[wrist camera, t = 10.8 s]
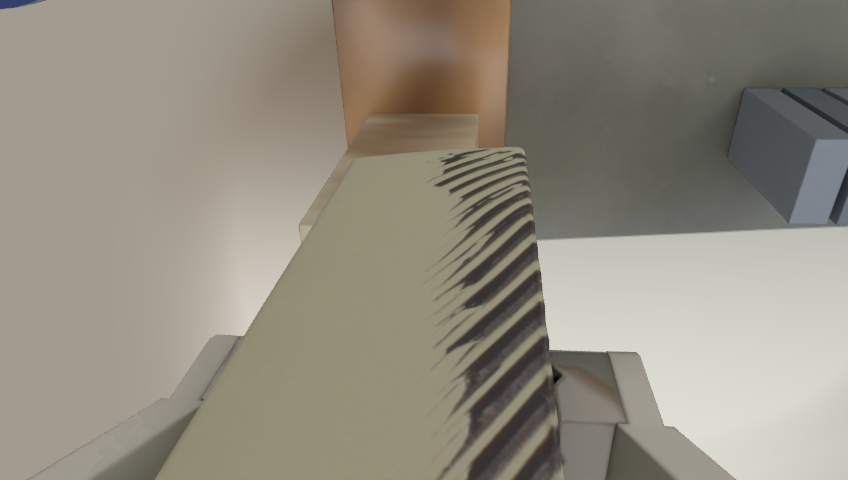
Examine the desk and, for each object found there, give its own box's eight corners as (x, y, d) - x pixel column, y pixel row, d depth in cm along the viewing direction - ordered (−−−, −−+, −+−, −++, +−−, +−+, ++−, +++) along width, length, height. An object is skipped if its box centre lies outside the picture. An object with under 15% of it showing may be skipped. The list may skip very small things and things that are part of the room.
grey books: (726, 157, 48) (788, 224, 38) (744, 88, 45) (816, 139, 35) (832, 158, 47) (924, 227, 37) (857, 87, 44) (965, 140, 34)
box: (530, 313, 15) (630, 1312, 4) (375, 317, 16) (122, 1200, 5) (526, 129, 13) (740, 1424, 2) (341, 142, 14) (-328, 1167, 2)
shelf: (398, 111, 49) (282, 342, 23) (382, -167, 39) (141, -332, 13) (501, 112, 48) (504, 354, 22) (511, -174, 38) (540, -371, 12)
